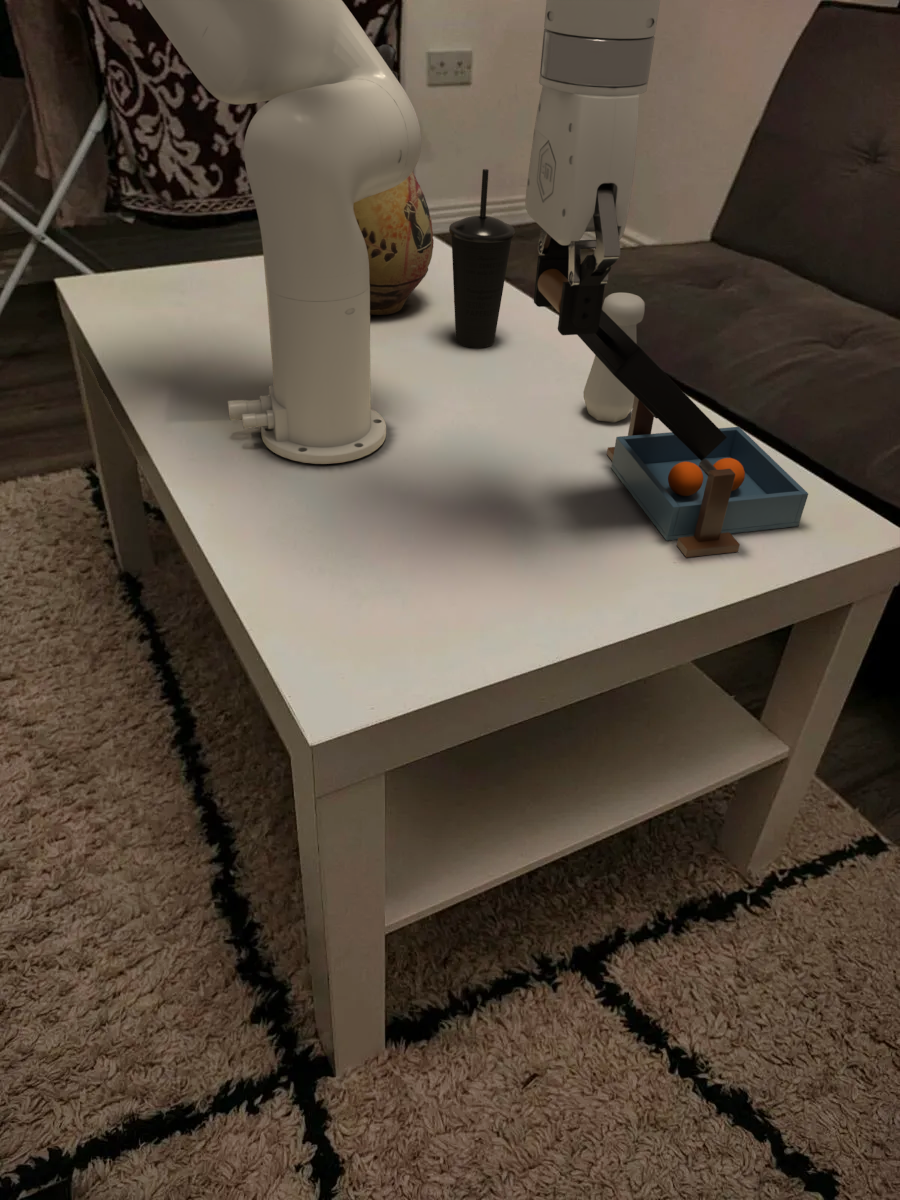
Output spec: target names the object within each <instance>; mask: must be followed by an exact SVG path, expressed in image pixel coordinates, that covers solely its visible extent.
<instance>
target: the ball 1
mask: <svg viewBox="0 0 900 1200" xmlns="http://www.w3.org/2000/svg"><path fill="white" fill-rule="evenodd" d="M668 483H669V486H670V488H671V489H672V491H673V492H675V493H676V494H678V495H681V496H689V495H692V494H694V493H696V492H697V491H698V490H699V489H700V488H701V486H702V483H703V473H702V471H701V469H700V468H699V467H698V466H697V465H696V464H694V463H692V462H681V463H678V464H676V465H675V466H674V467H673V468H672V469H671V471H670V473H669V476H668Z"/></svg>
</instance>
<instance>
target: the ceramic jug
mask: <svg viewBox="0 0 900 1200" xmlns="http://www.w3.org/2000/svg"><path fill="white" fill-rule="evenodd" d="M375 48H376V50H377V51H378V52H379V54H380V55H381V57H382V58H383V60H384V61H385V63H386V64H387V65H388V67H389V68H390V70H391V71H392V73H393V74H394V76H395V77H396V79H397V80H398V81H399V77H398V73H397V72H396V71H395V70H394V65H395V58H396V55H397V50H396V48H393V47H392V46H390V44H381V45H380V46H375ZM353 209H354V214H355V217H356V220H357V223H358V226H359V228H360V231H361V233H362V235H363V238H364V240H365V244H366V247H367V252H368V259H369V284H370V317H371V316H389V315H392V314H395V313H398V312H399V311H401V310H402V309H403V307H404V306H405V303H406V302H407V300H408V298H409V297H410V295H411V294H412V292H413V291H414V290H415V289H416V288H417V287H418V286H419V284H420V283H422V281H423V280H424V278H425V277H426V276H427V274H428V271H429V267H430V264H431V262H432V257H433V252H434V245H435V244H434V243H435V242H434V231H433V222H432V217H431V214H430V209H429V206H428V203H427V200H426V198H425V194H424V192H423V190H422V188H421V185H420V184H419V182H418V180H417V177H416V175H415V173H414V171H413V172H412V173H411V174H410V176H409V177H408V178H407V179H405V180H404V181H403V182H402V183H400V184H399V185H397V186H395V187H393V188H391V189H389V190H386V191H383V192H381V193H378V194H375V195H372V196H369V197H366V198H363V199H361V200H360V201H357V202H355V203H354V204H353Z"/></svg>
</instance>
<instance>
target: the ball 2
mask: <svg viewBox="0 0 900 1200" xmlns="http://www.w3.org/2000/svg"><path fill="white" fill-rule="evenodd" d="M713 466H714V467H715V468H716V469H717V470H721V469H731V470H732V471H733V472H734V473H735V478H734V482H733V486H732V490H731V491H734V490H736V489H737V488H739V487H740V486H741V484H742V483H743V481H744V478H745V471H744V468H743V466H742V464H741V463H740V462H739V461H737V460H735V459H733V458H723V459H720V460H718V461H717V462H716V463H715V464H714V465H713Z"/></svg>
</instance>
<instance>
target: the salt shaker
mask: <svg viewBox="0 0 900 1200" xmlns="http://www.w3.org/2000/svg"><path fill="white" fill-rule="evenodd" d="M645 306H646V302H645V301H644V299H642V297H640V296H639V295H636V294H634V293H629V292H614V293H611V294H608V295H607V296H606V297H604V299H603V302H602V310H603V311H604V312H605V313H606V314H607V315H608V316H609V317H610V318H611V319H612V320H613V321H614V322H615V323H616V324H617V325H618V326H619V327H620V328H621V329H622V330H623V331H624V332H625V333H626V334H627V335H628V336H629V337H630V338H631V339H632V340H633V341H634V342H635V343H636V344H637V343H638V342H637V325H638V324H639V323H642V322H643V319H644V316H645V311H646V310H645V308H646V307H645ZM637 345H638V344H637ZM634 397H635V396H634V395H633V394H632V393H631V392H630V391H629V390H628V389H627V388H626V387H625V386H624V385H623V384H622V383H621V382H620V381H619V380H618V379H617V378H616V377H615V376H614V375H613V374H612V373H611V372H610V371H609V370H608V368H607V367H606V366H605V365H604V364H603V363H602V362H601V361H600V360H599V358H598V357H597V356H596V355H595V354H594V358H593V362H592V365H591V368H590V370H589V374H588V376H587V380H586V383H585V386H584V389H583V399H584V403H585V406H586V410H587V413H588V415H589V416H591V417H592V418H594V419H595V420H596V421H598V422H599V421H600V422H606V423H614V424H615V423H617V422H620V421H622V420H624V419H627V417H628V416H629V414H631V412H632V408H633V403H634Z"/></svg>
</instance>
